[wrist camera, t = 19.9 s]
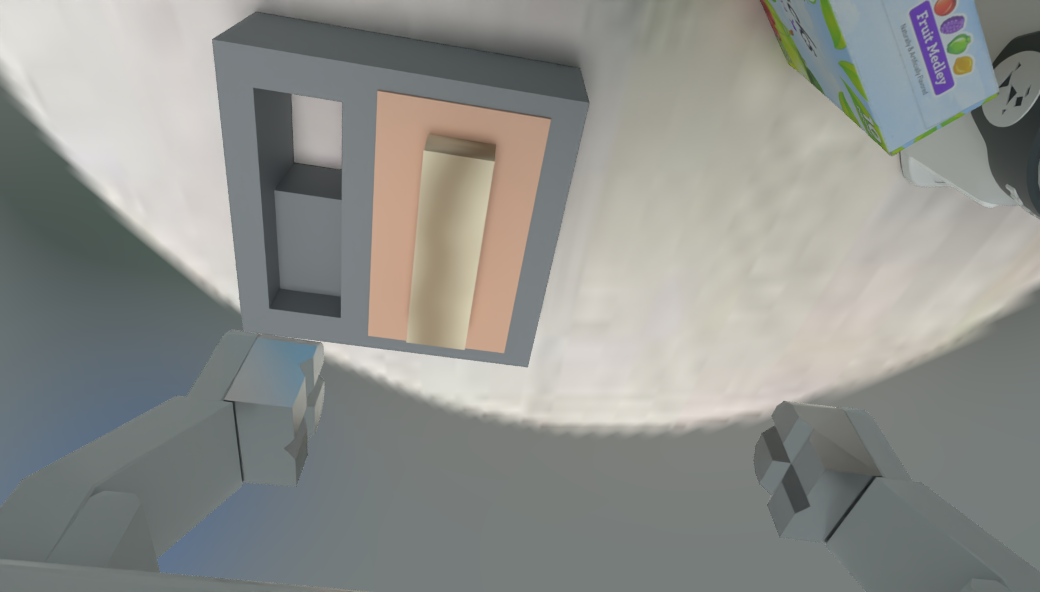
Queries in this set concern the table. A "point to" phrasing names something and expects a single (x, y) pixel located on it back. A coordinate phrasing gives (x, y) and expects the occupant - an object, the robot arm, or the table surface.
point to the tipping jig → (388, 180)
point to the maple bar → (448, 239)
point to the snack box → (889, 61)
